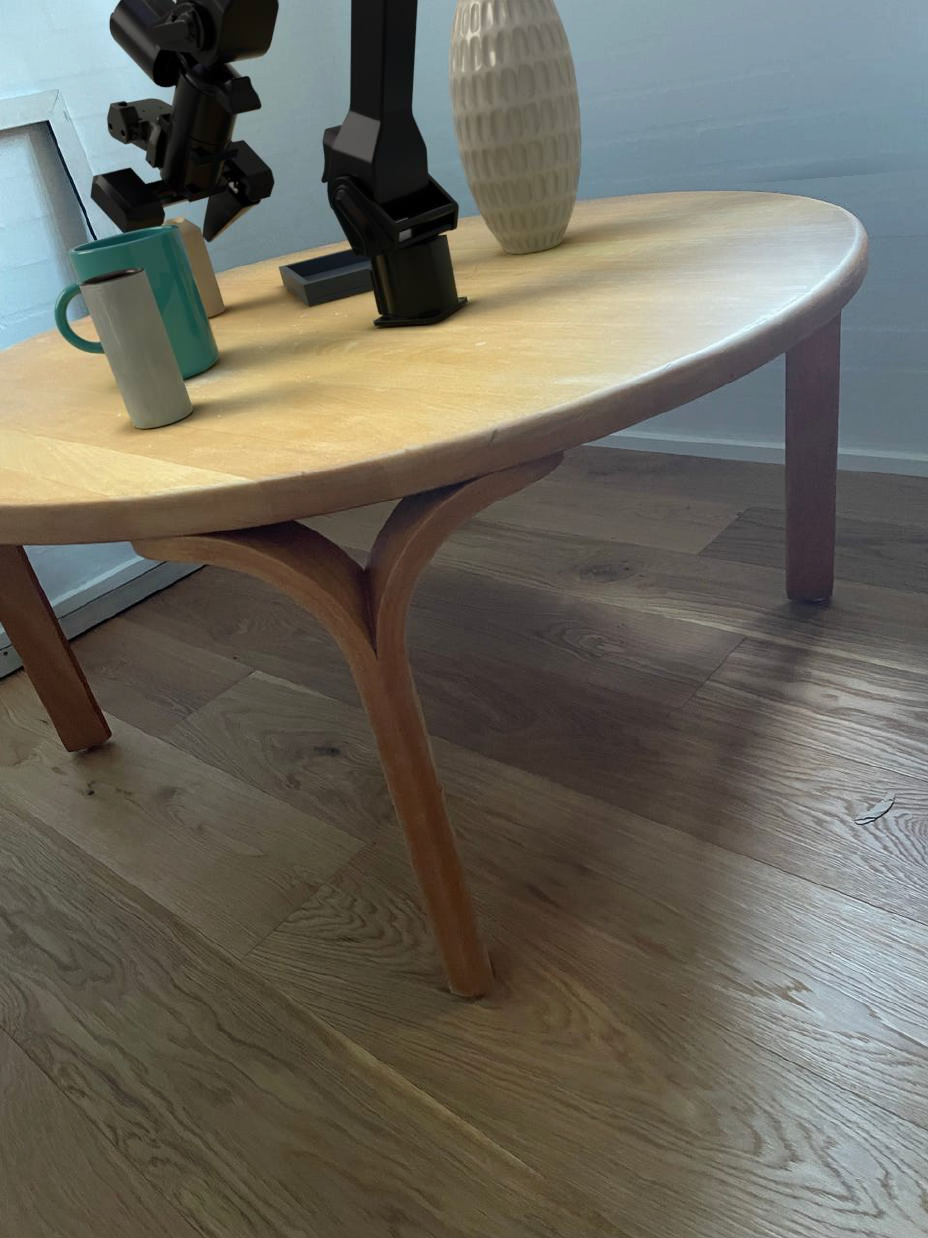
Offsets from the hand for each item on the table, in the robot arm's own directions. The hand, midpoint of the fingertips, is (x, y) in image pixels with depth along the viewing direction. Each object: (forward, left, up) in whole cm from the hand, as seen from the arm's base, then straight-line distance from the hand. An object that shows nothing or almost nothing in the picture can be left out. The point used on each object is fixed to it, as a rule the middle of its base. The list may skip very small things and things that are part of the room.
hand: (173, 250), depth 98 cm
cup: (-14, +21, -7) cm, 26 cm away
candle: (-1, 0, -7) cm, 7 cm away
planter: (-24, +30, -7) cm, 39 cm away
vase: (-33, -19, -7) cm, 39 cm away
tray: (-15, -11, -7) cm, 20 cm away
